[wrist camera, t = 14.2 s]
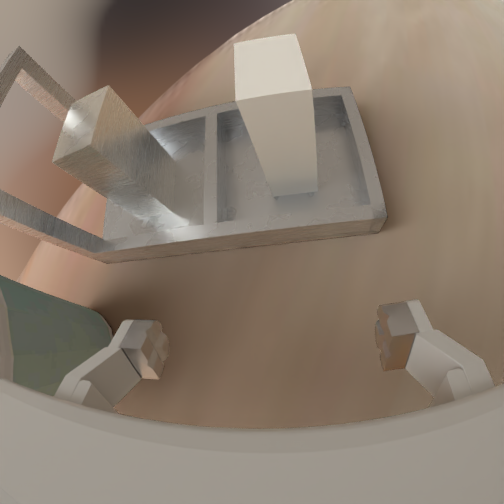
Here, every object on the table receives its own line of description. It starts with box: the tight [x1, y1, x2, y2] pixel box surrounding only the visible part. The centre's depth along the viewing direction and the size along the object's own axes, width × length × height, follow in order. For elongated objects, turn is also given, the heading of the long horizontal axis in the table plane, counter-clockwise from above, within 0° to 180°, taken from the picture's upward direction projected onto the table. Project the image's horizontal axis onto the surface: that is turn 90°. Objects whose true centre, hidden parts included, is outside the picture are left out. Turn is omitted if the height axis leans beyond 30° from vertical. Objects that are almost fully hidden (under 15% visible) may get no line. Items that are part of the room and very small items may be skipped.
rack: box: [0, 46, 388, 264], centre depth 16 cm, size 24×12×18 cm, turn 94°
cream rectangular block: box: [234, 34, 318, 197], centre depth 18 cm, size 4×5×11 cm
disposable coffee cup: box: [0, 275, 113, 396], centre depth 17 cm, size 11×11×15 cm
